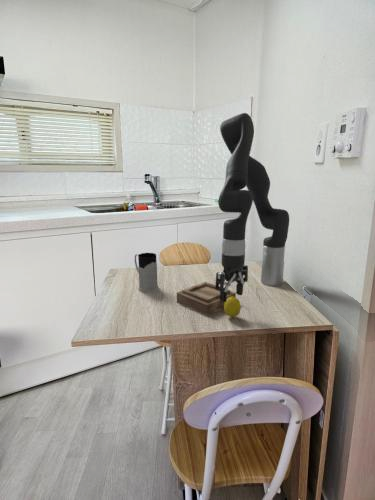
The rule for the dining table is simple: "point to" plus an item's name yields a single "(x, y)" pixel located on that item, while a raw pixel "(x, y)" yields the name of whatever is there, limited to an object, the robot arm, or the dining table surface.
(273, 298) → the dining table surface
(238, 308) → the lemon
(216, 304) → the brown wooden crate
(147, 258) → the glass holder
